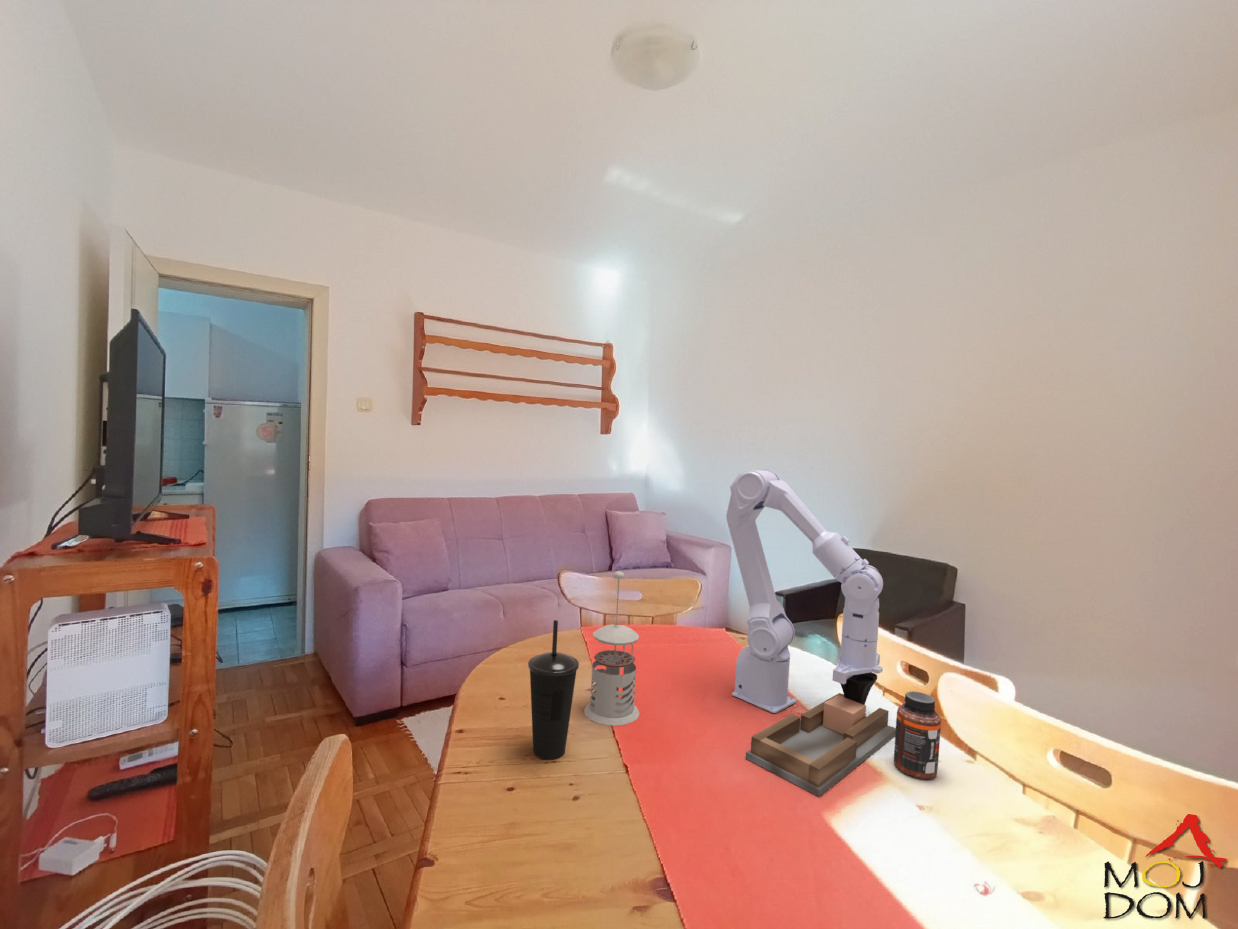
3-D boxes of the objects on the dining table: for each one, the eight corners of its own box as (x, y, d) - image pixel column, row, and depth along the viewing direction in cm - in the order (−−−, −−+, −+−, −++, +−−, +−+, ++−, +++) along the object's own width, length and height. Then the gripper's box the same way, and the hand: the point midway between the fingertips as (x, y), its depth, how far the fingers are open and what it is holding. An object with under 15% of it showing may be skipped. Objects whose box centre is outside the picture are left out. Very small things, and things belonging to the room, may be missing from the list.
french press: (574, 717, 96) (581, 572, 95) (601, 691, 107) (608, 561, 106) (627, 731, 92) (635, 581, 91) (650, 702, 103) (657, 568, 102)
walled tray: (745, 758, 86) (746, 736, 86) (829, 708, 104) (831, 689, 104) (819, 797, 77) (820, 772, 77) (896, 734, 96) (898, 714, 96)
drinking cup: (583, 746, 87) (589, 619, 86) (557, 771, 80) (564, 632, 79) (541, 733, 90) (547, 610, 89) (513, 756, 83) (519, 623, 82)
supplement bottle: (943, 784, 82) (949, 708, 81) (899, 777, 83) (904, 702, 82) (929, 762, 88) (934, 691, 87) (888, 756, 89) (893, 685, 88)
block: (822, 725, 95) (824, 702, 95) (836, 717, 99) (837, 695, 98) (851, 738, 91) (853, 714, 91) (864, 728, 95) (866, 705, 95)
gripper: (864, 652, 89) (859, 735, 90) (899, 635, 99) (894, 710, 100) (822, 639, 94) (817, 718, 95) (859, 624, 104) (854, 695, 105)
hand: (854, 713), depth 98 cm, fingers closed
